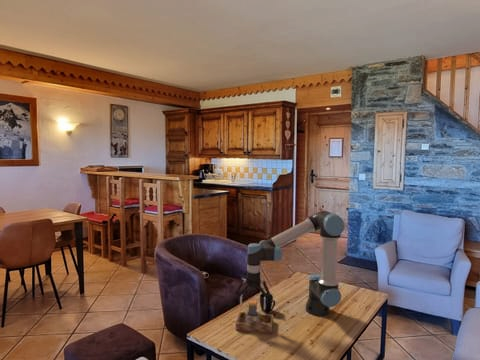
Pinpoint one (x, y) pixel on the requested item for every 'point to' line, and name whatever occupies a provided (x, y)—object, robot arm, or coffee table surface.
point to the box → (254, 322)
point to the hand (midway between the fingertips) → (252, 307)
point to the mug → (269, 303)
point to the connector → (252, 307)
